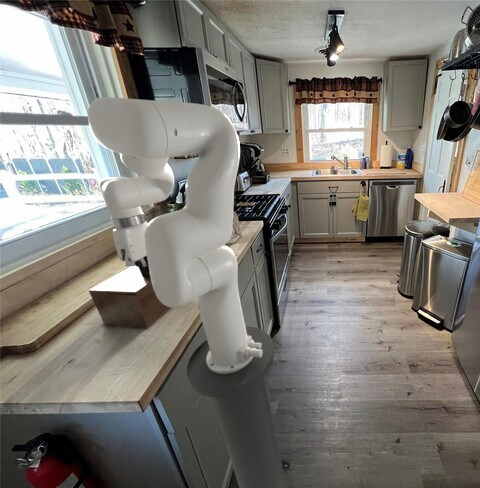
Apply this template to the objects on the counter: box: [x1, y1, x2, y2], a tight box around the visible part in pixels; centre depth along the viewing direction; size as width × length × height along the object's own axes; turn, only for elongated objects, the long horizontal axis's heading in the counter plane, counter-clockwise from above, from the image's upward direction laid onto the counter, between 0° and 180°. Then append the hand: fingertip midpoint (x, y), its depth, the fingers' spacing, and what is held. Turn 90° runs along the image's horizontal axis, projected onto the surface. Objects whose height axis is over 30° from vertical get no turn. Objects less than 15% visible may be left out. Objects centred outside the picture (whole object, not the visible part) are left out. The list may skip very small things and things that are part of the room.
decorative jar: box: [225, 211, 242, 245], centre depth 141 cm, size 12×12×18 cm
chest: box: [89, 284, 172, 329], centre depth 86 cm, size 16×18×12 cm
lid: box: [88, 266, 152, 294], centre depth 83 cm, size 16×18×1 cm
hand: (148, 275), depth 82 cm, fingers closed
